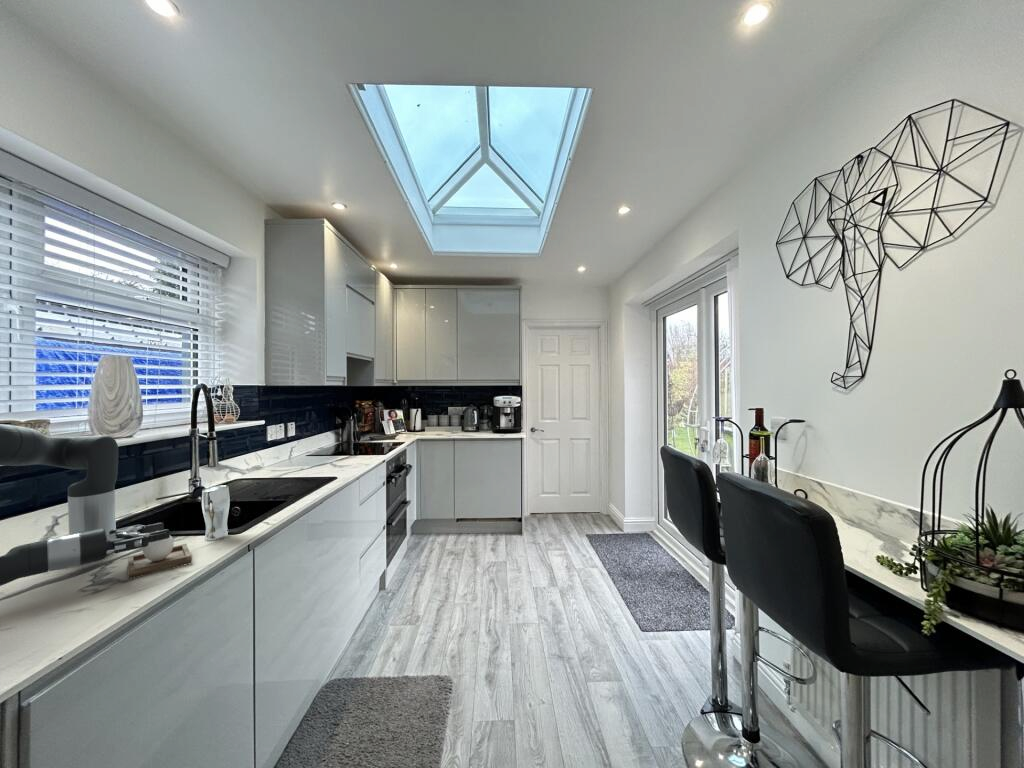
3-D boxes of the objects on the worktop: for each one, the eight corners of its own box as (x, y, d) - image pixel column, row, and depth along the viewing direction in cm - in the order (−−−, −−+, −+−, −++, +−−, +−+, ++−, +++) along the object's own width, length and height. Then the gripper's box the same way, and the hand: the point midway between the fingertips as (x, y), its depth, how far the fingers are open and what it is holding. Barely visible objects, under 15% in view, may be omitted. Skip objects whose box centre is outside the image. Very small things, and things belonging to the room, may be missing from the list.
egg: (149, 558, 109) (149, 529, 109) (177, 554, 111) (177, 525, 111) (138, 567, 103) (137, 536, 103) (168, 562, 105) (167, 533, 105)
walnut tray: (128, 564, 108) (127, 556, 108) (186, 550, 116) (186, 543, 116) (128, 579, 99) (128, 570, 99) (191, 563, 107) (191, 555, 107)
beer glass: (226, 531, 131) (225, 484, 131) (233, 535, 127) (232, 487, 127) (199, 537, 126) (198, 489, 126) (206, 542, 121) (205, 492, 122)
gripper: (78, 540, 92) (171, 520, 104) (75, 526, 101) (161, 510, 113) (79, 573, 92) (172, 550, 104) (76, 557, 101) (162, 537, 113)
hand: (166, 529), depth 108 cm, fingers open, 8 cm apart
